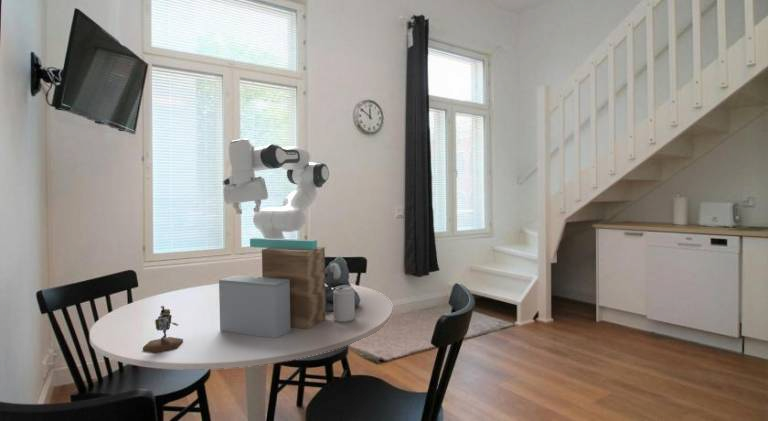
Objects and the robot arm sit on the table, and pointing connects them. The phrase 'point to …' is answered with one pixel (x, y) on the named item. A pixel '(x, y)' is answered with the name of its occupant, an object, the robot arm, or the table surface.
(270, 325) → the low stand
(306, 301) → the tall wooden block
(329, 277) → the koala plush
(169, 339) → the robot figurine
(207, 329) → the table surface
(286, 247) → the teal bar
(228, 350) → the table surface
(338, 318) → the can
